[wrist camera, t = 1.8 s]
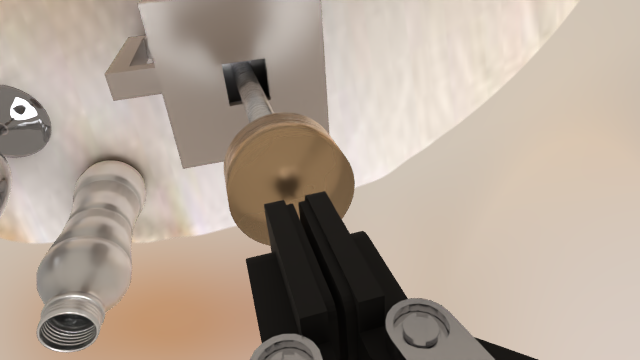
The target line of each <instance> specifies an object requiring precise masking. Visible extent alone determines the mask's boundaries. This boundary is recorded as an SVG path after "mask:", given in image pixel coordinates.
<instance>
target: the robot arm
mask: <svg viewBox="0 0 640 360" xmlns="http://www.w3.org/2000/svg"><path fill="white" fill-rule="evenodd" d="M298 206H299V215H300V219H299V216H298V214H297V212H296V209H295V207H294V205H293V203H292V204H288V205H286V203H285V201H284V200H281V201H276V202H271V203H266V204H264V210H265V216H266V222H267V228H268V233H269V239H270V245H271V251H272V253H269V254H264V255H260V256H256V257H251V258H248V259H246V263H247V268H248V273H249V279H250V284H251V289H252V294H253V299H254V305H255V310H256V315H257V320H258V326H259V331H260V336H261V341H262V344H261V345H260V346H259V347H258V348H257V349H256V350H255V351H254V353H253V355H252V357H251V358H250V360H538V359H534V358H532V357H529V356H526V355H523V354H520V353H518V352H515V351H512V350H509V349H506V348H504V347H501V346H498V345H495V344H492V343H489V342H487V341H484V340H481V339H478V338H475V337H473V336H472V335H471V334H470V333H469V332H468V331H467V330H466V329H465V328H464V326H463V325H461V323H460V322H459V321H458V320H457V319H456V318H455V317H454V316H453V315H452V314H451V313H450V312H449V311H448V310H447V309H445V308H444V307H443V306H442V305H440V304H438V303H436V302H433V301H431V300H427V299H422V298H411V299H408V298H407V297H406V295H405V294H404V292H403V290H402V289H401V287H400V286H399V284H398V283H397V281H396V279H395V278H394V276H393V275H392V273H391V271H390V270H389V268H388V267H387V265H386V264H385V262H384V260H383V259H382V257H381V256H380V254H379V252H378V251H377V249H376V248H375V246H374V245H373V243H372V241H371V240H370V238H369V237H368V235H367V234H366V233H365V232H364V231H361V232H356V233H352V234H350V233H349V232H348V230H347V228H346V226H345V225H344V223H343V221H342V219H341V218H340V216H339V214H338V212H337V211H336V209H335V207H334V205H333V204H332V202H331V200H330V198H329V197H328V195H327V193H326V192H325V191H323V192H318V193H313V194H309V195H305V201H301V202H299V203H298Z"/></svg>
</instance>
